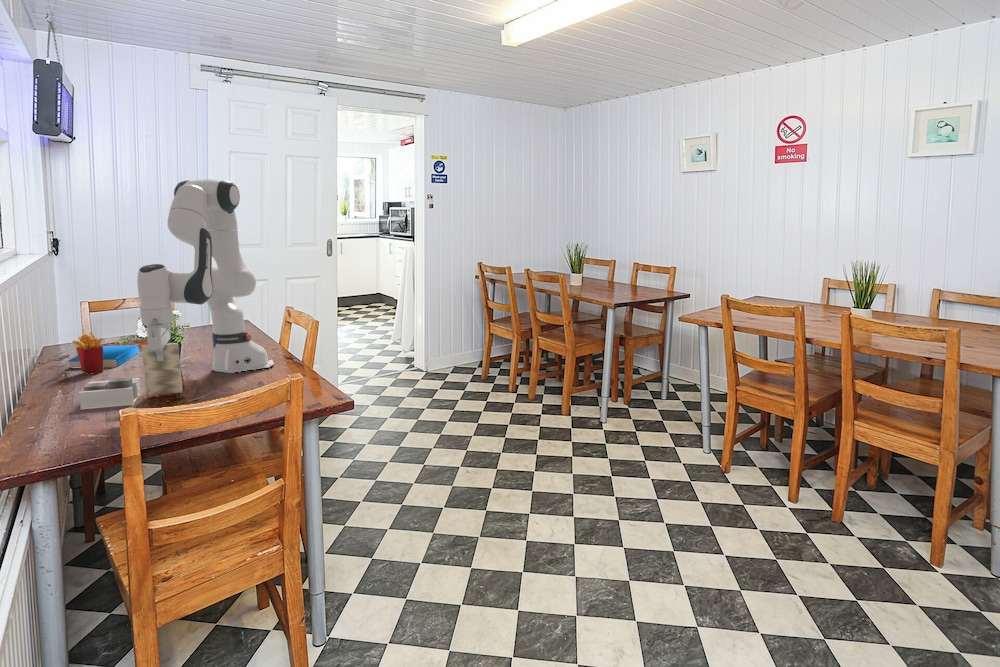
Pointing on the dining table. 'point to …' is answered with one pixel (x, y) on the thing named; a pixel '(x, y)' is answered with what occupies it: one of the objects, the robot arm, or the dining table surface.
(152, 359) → the birch board
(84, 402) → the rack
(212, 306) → the robot arm
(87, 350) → the french fries
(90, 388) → the offcut short
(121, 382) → the offcut tall
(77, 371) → the dining table surface
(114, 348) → the book
